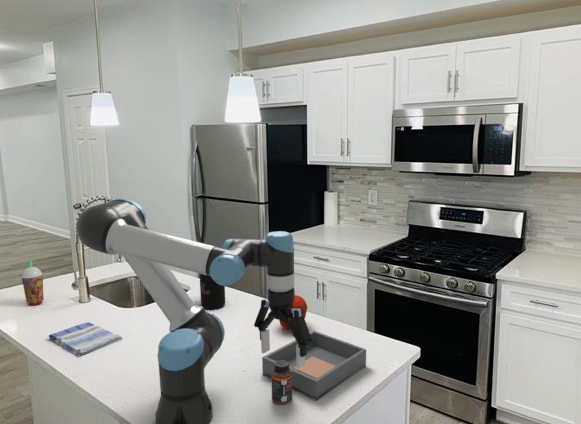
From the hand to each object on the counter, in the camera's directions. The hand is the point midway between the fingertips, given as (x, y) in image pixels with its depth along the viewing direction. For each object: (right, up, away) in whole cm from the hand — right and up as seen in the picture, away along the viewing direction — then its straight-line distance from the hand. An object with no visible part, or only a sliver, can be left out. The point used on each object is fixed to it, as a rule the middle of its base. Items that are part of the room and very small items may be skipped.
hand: (282, 358), depth 133 cm
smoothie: (-113, 0, +78) cm, 137 cm away
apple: (+3, -4, +50) cm, 50 cm away
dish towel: (-75, -7, +42) cm, 86 cm away
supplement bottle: (0, -13, +2) cm, 13 cm away
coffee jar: (-32, 0, +74) cm, 80 cm away
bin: (+10, -10, +18) cm, 23 cm away
